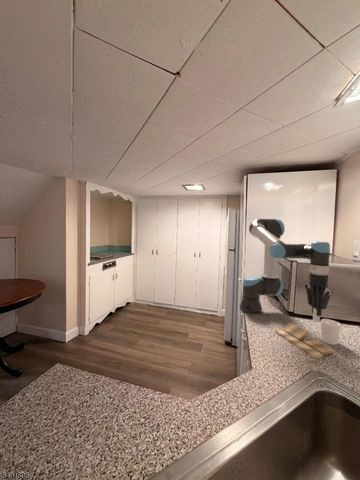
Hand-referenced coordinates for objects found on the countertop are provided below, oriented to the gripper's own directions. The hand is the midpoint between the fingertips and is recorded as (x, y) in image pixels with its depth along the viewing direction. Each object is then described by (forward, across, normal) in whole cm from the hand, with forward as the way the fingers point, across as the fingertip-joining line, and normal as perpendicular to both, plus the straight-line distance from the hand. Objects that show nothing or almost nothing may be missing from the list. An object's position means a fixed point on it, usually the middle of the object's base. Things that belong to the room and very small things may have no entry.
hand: (316, 321), depth 100 cm
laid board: (+12, -3, -8) cm, 15 cm away
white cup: (+12, 0, +10) cm, 16 cm away
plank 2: (+11, +3, -2) cm, 12 cm away
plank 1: (+10, -9, -3) cm, 14 cm away
